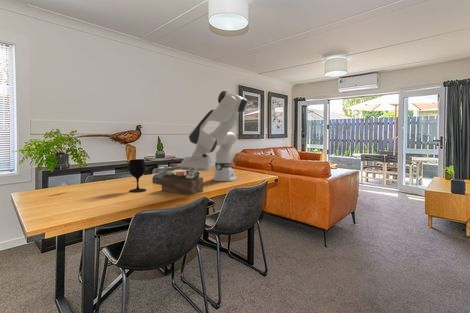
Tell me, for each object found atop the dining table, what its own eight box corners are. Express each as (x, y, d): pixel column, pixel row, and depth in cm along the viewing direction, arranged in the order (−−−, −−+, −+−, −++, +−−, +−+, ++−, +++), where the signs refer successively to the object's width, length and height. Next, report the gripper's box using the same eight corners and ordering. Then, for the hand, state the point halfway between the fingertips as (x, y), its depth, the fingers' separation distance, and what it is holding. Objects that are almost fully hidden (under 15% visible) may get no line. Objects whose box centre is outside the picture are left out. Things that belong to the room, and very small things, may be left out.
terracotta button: (179, 174, 169) (179, 171, 169) (185, 175, 167) (185, 172, 167) (174, 176, 165) (174, 172, 165) (180, 176, 163) (180, 173, 162)
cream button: (189, 178, 166) (189, 174, 166) (195, 178, 163) (195, 175, 163) (184, 179, 161) (184, 175, 161) (190, 180, 159) (190, 176, 159)
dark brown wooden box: (174, 187, 180) (174, 173, 179) (202, 191, 168) (202, 176, 167) (161, 190, 169) (161, 175, 168) (191, 195, 158) (191, 179, 157)
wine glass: (135, 193, 161) (134, 161, 159) (125, 191, 167) (125, 160, 166) (149, 190, 169) (149, 159, 168) (140, 188, 176) (139, 158, 174)
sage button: (170, 173, 173) (170, 170, 173) (176, 174, 171) (176, 171, 171) (164, 174, 169) (164, 171, 169) (170, 175, 166) (170, 172, 166)
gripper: (182, 154, 172) (174, 170, 164) (210, 155, 164) (203, 173, 156) (186, 160, 176) (178, 176, 168) (213, 161, 169) (207, 179, 161)
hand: (190, 175), depth 162 cm, fingers closed, pressing on cream button
